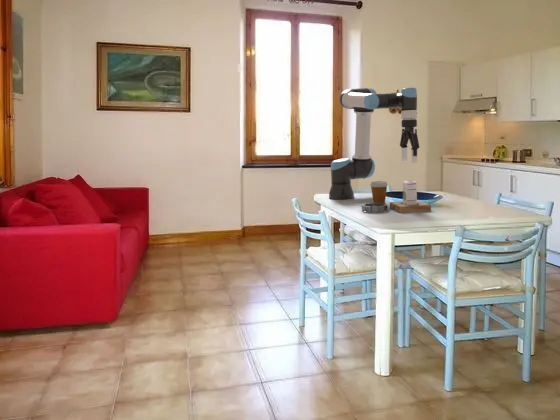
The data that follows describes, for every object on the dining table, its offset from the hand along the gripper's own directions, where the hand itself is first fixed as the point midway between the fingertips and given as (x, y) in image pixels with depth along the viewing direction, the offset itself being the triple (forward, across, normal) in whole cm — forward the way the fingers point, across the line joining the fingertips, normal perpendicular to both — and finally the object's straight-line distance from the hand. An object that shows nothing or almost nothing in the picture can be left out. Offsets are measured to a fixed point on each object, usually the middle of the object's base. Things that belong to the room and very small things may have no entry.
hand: (409, 161), depth 261 cm
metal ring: (+25, +3, +18) cm, 31 cm away
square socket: (+25, 0, 0) cm, 25 cm away
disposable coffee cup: (+25, +22, +9) cm, 34 cm away
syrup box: (+25, 0, 0) cm, 25 cm away
